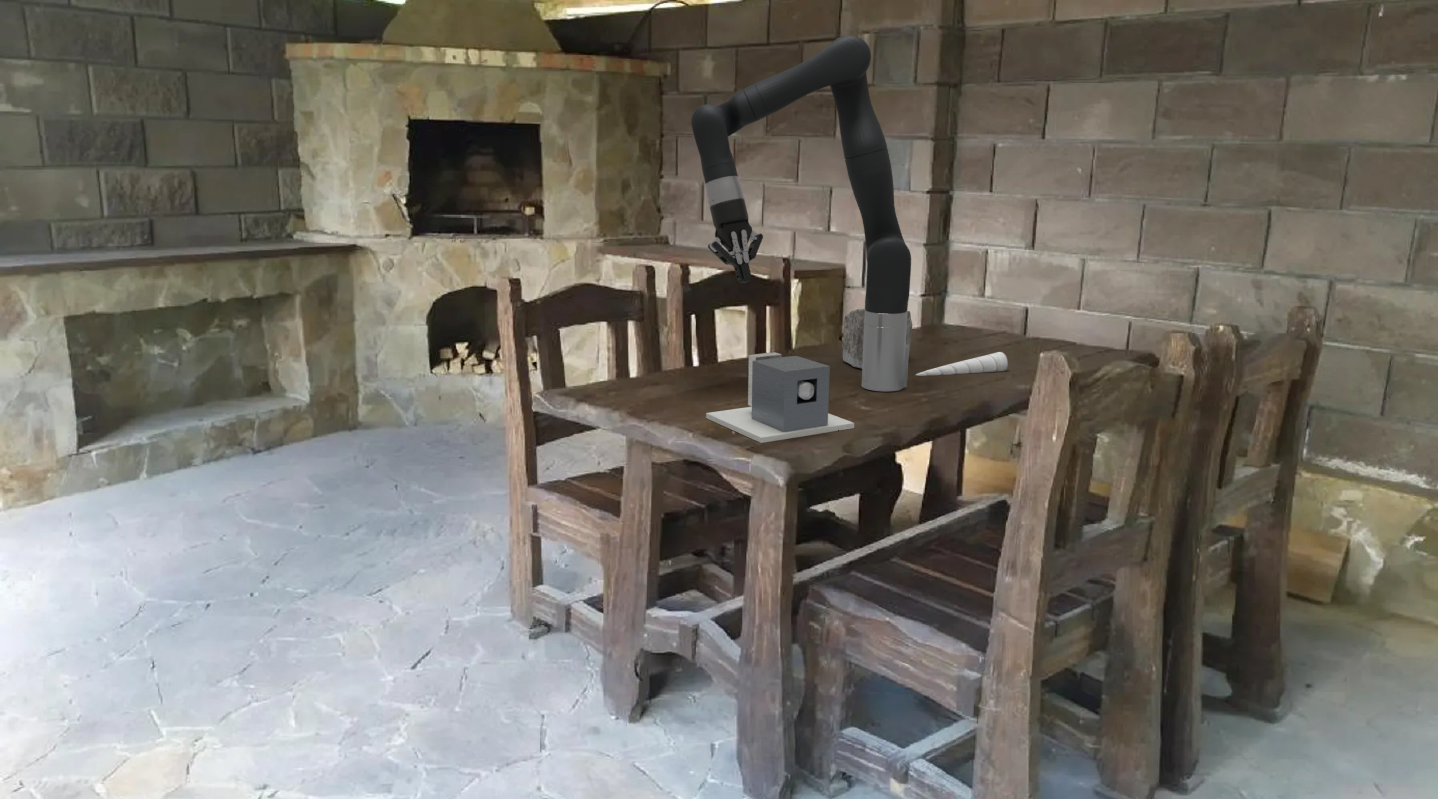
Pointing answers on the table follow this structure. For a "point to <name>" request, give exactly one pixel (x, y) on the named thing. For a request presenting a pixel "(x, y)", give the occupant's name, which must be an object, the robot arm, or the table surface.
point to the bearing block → (789, 393)
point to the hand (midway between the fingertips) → (745, 282)
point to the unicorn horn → (972, 366)
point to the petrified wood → (861, 336)
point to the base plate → (762, 433)
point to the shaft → (803, 387)
